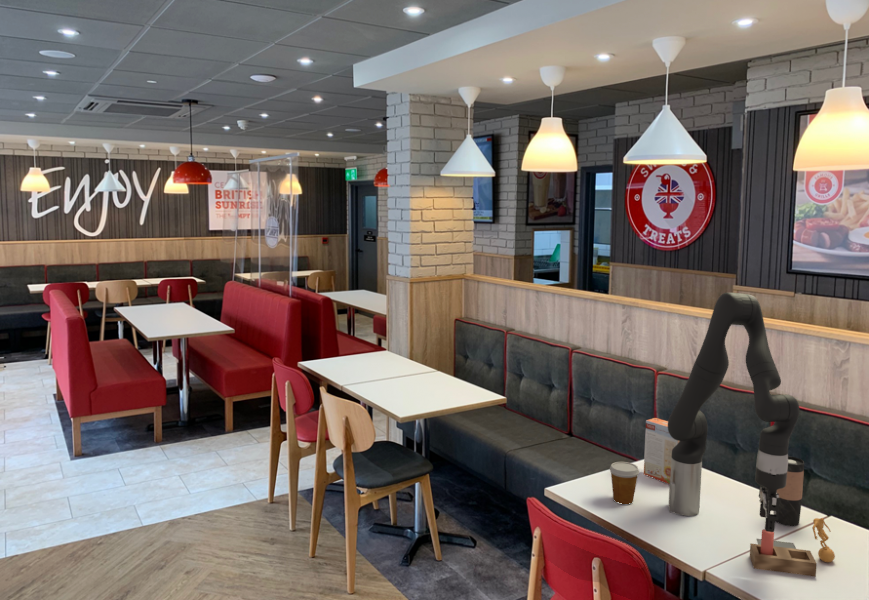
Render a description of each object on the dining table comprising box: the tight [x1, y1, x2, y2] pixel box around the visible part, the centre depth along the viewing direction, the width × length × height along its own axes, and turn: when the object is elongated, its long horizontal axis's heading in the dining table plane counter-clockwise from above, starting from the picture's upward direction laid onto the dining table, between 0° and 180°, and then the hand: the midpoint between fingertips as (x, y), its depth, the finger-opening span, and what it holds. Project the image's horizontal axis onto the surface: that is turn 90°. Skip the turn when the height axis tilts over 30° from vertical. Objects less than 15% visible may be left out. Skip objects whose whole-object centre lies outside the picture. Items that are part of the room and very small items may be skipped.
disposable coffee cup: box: [609, 461, 640, 505], centre depth 228 cm, size 10×10×12 cm
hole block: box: [749, 543, 818, 578], centre depth 186 cm, size 15×7×4 cm, turn 74°
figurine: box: [812, 517, 836, 563], centre depth 190 cm, size 8×6×12 cm
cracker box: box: [643, 417, 680, 485], centre depth 245 cm, size 14×6×21 cm, turn 34°
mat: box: [756, 538, 797, 549], centre depth 197 cm, size 10×8×1 cm
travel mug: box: [775, 455, 805, 527], centre depth 212 cm, size 8×8×20 cm
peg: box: [760, 528, 775, 556], centre depth 187 cm, size 3×3×10 cm
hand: (766, 523), depth 186 cm, fingers open, 8 cm apart
